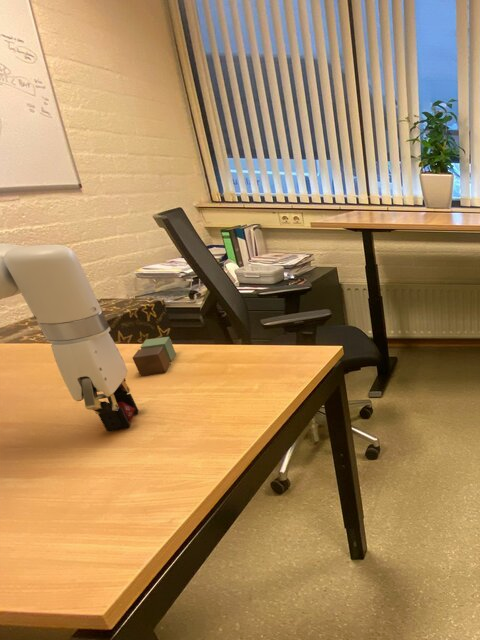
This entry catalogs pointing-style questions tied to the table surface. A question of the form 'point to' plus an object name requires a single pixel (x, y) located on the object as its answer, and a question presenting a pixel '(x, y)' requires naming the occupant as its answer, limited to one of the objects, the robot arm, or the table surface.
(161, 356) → the walnut block
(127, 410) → the dice
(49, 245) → the robot arm
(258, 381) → the table surface
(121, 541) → the table surface
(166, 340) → the sage block
